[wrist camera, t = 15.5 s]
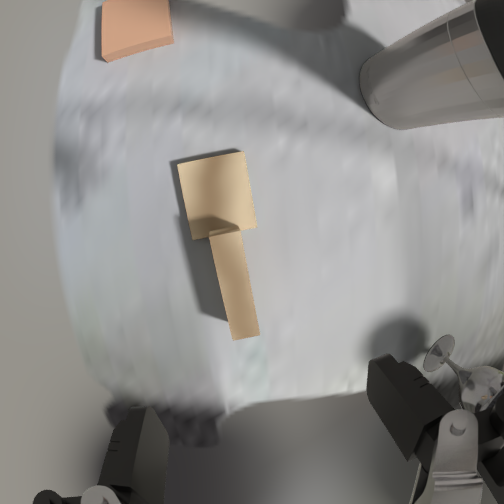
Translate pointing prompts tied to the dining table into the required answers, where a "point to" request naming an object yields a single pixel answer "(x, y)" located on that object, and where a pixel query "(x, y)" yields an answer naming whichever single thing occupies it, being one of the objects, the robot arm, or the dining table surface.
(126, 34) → the tile
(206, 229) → the turner
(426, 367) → the wine glass
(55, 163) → the dining table surface
